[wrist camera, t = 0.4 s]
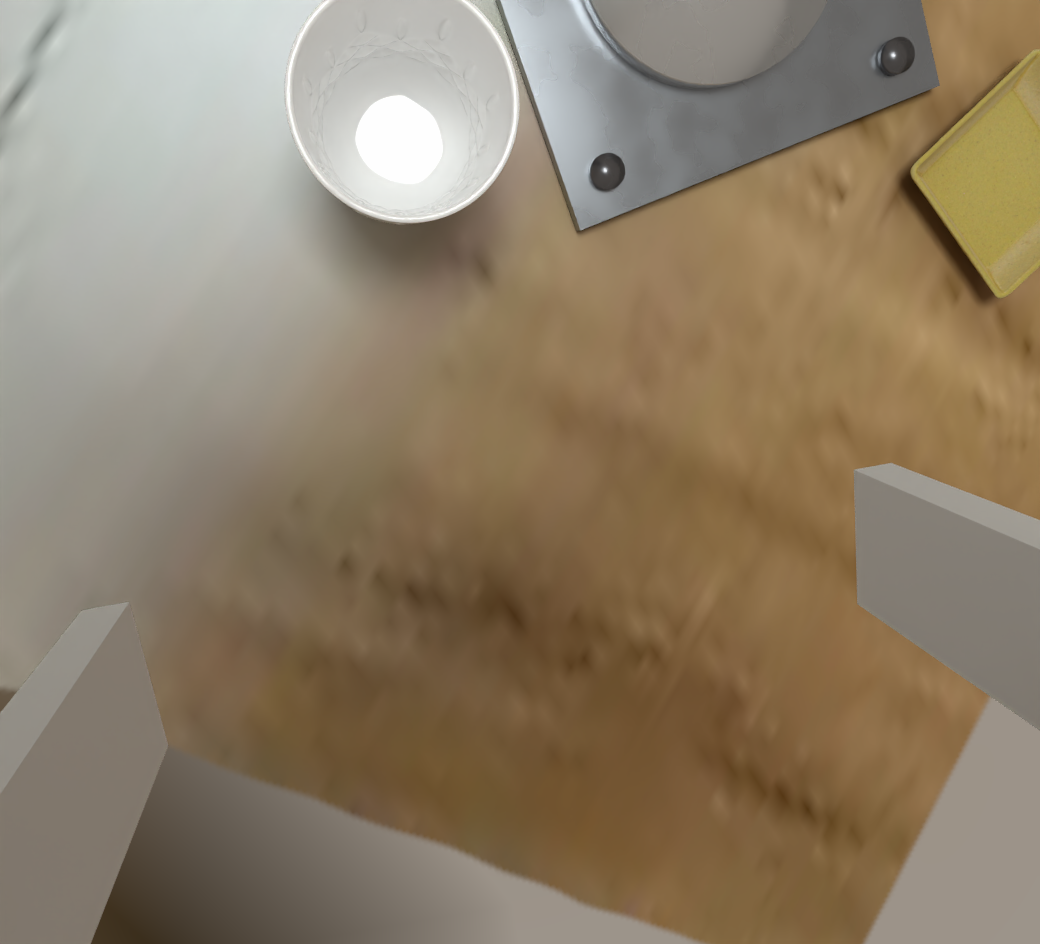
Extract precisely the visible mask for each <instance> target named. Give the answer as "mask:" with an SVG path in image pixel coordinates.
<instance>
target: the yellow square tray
mask: <svg viewBox="0 0 1040 944" xmlns="http://www.w3.org/2000/svg"><path fill="white" fill-rule="evenodd" d="M910 174H911V177H912V179H913V181H914V182H915V184H916V185H917V186H918V188H919V189H920V191H921V192H922V193H923V195H924V196H925V198H926V199H927V200H928V202H929V203H930V205H931V206H932V208H933V209H934V210H935V212H936V213H937V215H938V216H939V217H940V219H941V220H942V222H943V223H944V225H945V226H946V227H947V229H948V230H949V232H950V233H951V235H952V236H953V237H954V239H955V240H956V242H957V243H958V244H959V246H960V247H961V249H962V250H963V252H964V253H965V254H966V256H967V257H968V259H969V260H970V261H971V263H972V264H973V266H974V267H975V269H976V270H977V271H978V273H979V274H980V276H981V277H982V278H983V280H984V281H985V283H986V284H987V286H988V287H989V289H990V290H991V291H992V292H993V293H994V295H995V296H996V297H997V298H1004V297H1006V296H1008V295H1009V294H1010V293H1012V292H1013V291H1014V290H1015V289H1016V288H1017V287H1018V286H1019V285H1020V284H1021V283H1022V282H1023V281H1024V280H1026V279H1027V278H1028V277H1029V276H1030V275H1031V274H1032V273H1033V272H1034V271H1035V270H1036V269H1037V268H1038V267H1039V266H1040V50H1039V49H1035V50H1033V51H1031V52H1030V53H1029V54H1028V55H1027V56H1026V57H1025V58H1024V59H1023V60H1022V61H1021V62H1020V63H1019V64H1018V65H1017V66H1016V67H1015V68H1014V69H1013V70H1012V71H1011V72H1010V73H1009V74H1008V75H1007V76H1005V77H1004V78H1003V79H1002V80H1001V81H1000V82H999V83H998V84H997V85H996V86H995V87H994V88H993V89H992V90H991V91H990V92H989V93H988V94H987V95H986V96H985V97H984V98H983V99H982V100H980V101H979V102H978V103H977V104H976V105H975V106H974V107H973V108H972V109H971V110H970V111H969V112H968V113H967V114H966V115H965V116H964V117H963V118H962V119H961V120H960V121H958V122H957V123H956V124H955V125H954V126H953V127H952V128H951V129H950V130H949V131H948V132H947V133H946V134H945V135H944V136H943V137H942V138H941V139H940V140H939V141H937V142H936V143H935V144H934V145H933V146H932V147H931V148H930V149H929V150H928V151H927V152H926V153H925V154H924V155H923V156H922V157H921V158H920V159H919V160H918V161H917V162H916V163H915V164H914V165H913V166H912V168H911V172H910Z"/></svg>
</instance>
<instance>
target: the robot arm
mask: <svg viewBox="0 0 1040 944" xmlns="http://www.w3.org/2000/svg"><path fill="white" fill-rule="evenodd" d="M854 490H855V528H856V567H857V604H858V605H860V606H861V607H863V608H864V609H865V610H867V611H868V612H870V613H871V614H873V615H874V616H875V617H877V618H878V619H880V620H881V621H883V622H884V623H886V624H887V625H888V626H890V627H891V628H893V629H894V630H896V631H897V632H898V633H900V634H901V635H903V636H904V637H906V638H907V639H909V640H910V641H911V642H913V643H914V644H916V645H917V646H919V647H920V648H922V649H923V650H924V651H926V652H927V653H929V654H930V655H932V656H933V657H934V658H936V659H937V660H939V661H940V662H942V663H943V664H945V665H946V666H947V667H949V668H950V669H952V670H953V671H955V672H956V673H958V674H959V675H960V676H962V677H963V678H965V679H966V680H968V681H969V682H970V683H972V684H973V685H975V686H976V687H978V688H979V689H981V690H982V691H983V692H985V693H986V694H988V695H989V696H991V697H992V698H993V699H995V700H996V701H998V702H999V703H1001V704H1002V705H1004V706H1005V707H1007V708H1008V709H1009V710H1011V711H1012V712H1014V713H1015V714H1017V715H1018V716H1019V717H1021V718H1022V719H1024V720H1025V721H1027V722H1028V723H1029V724H1031V725H1032V726H1034V727H1035V728H1037V729H1038V730H1040V520H1038V519H1035V518H1032V517H1030V516H1027V515H1025V514H1022V513H1019V512H1017V511H1014V510H1012V509H1009V508H1006V507H1004V506H1001V505H999V504H996V503H993V502H991V501H988V500H986V499H983V498H980V497H978V496H975V495H973V494H970V493H967V492H965V491H962V490H960V489H957V488H954V487H952V486H949V485H947V484H944V483H942V482H939V481H936V480H934V479H931V478H929V477H926V476H923V475H921V474H918V473H916V472H913V471H910V470H908V469H905V468H903V467H900V466H897V465H895V464H892V463H889V464H883V465H878V466H872V467H867V468H861V469H856V470H854ZM167 748H168V743H167V739H166V735H165V732H164V728H163V724H162V721H161V717H160V713H159V709H158V706H157V702H156V698H155V695H154V691H153V687H152V683H151V680H150V676H149V672H148V668H147V665H146V661H145V657H144V654H143V650H142V646H141V642H140V639H139V635H138V631H137V627H136V624H135V620H134V616H133V613H132V609H131V605H130V602H125V603H119V604H114V605H108V606H103V607H97V608H92V609H86V610H81V612H80V613H79V614H78V615H77V617H76V618H75V619H74V620H73V622H72V623H71V624H70V626H69V627H68V628H67V629H66V631H65V632H64V633H63V634H62V636H61V637H60V638H59V639H58V641H57V642H56V643H55V644H54V646H53V647H52V648H51V650H50V651H49V652H48V653H47V655H46V656H45V657H44V658H43V660H42V661H41V662H40V663H39V665H38V666H37V667H36V669H35V670H34V671H33V672H32V674H31V675H30V676H29V677H28V679H27V680H26V681H25V682H24V684H23V685H22V686H21V687H20V689H19V690H18V691H17V693H16V694H15V695H14V696H13V698H12V699H11V700H10V701H9V703H8V704H7V705H6V706H5V708H4V709H3V710H2V712H1V713H0V944H91V941H92V938H93V936H94V933H95V931H96V928H97V926H98V923H99V921H100V918H101V916H102V913H103V910H104V908H105V905H106V903H107V900H108V898H109V895H110V893H111V890H112V887H113V885H114V883H115V880H116V877H117V875H118V872H119V870H120V867H121V865H122V862H123V860H124V857H125V855H126V852H127V849H128V847H129V844H130V842H131V839H132V837H133V834H134V832H135V829H136V826H137V824H138V822H139V819H140V816H141V814H142V811H143V809H144V806H145V804H146V801H147V799H148V796H149V794H150V791H151V788H152V786H153V783H154V781H155V778H156V776H157V773H158V771H159V768H160V766H161V763H162V761H163V758H164V755H165V753H166V750H167Z"/></svg>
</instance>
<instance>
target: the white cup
mask: <svg viewBox="0 0 1040 944" xmlns="http://www.w3.org/2000/svg"><path fill="white" fill-rule="evenodd" d="M285 107H286V113H287V118H288V123H289V127H290V130H291V133H292V136H293V139H294V141H295V144H296V146H297V148H298V150H299V152H300V154H301V156H302V158H303V160H304V161H305V163H306V164H307V166H308V168H309V169H310V170H311V172H312V173H313V174H314V176H315V177H316V178H317V179H318V180H319V182H320V183H321V184H322V185H323V186H324V187H325V188H326V189H327V190H328V191H329V192H331V193H332V194H333V195H334V196H335V197H337V198H338V199H339V200H340V201H341V202H343V203H344V204H345V205H347V206H348V207H350V208H351V209H353V210H354V211H356V212H357V213H360V214H362V215H364V216H366V217H368V218H371V219H374V220H377V221H381V222H385V223H391V224H401V225H403V224H416V223H422V222H428V221H433V220H437V219H441V218H444V217H447V216H449V215H452V214H454V213H456V212H458V211H460V210H462V209H463V208H465V207H467V206H468V205H470V204H471V203H473V202H474V201H475V200H476V199H478V198H479V197H480V196H481V195H482V194H483V193H484V192H485V191H486V190H487V189H488V188H489V187H490V186H491V185H492V184H493V182H494V181H495V180H496V178H497V177H498V176H499V174H500V172H501V171H502V169H503V168H504V166H505V164H506V162H507V160H508V158H509V155H510V153H511V150H512V148H513V145H514V141H515V137H516V133H517V128H518V121H519V91H518V84H517V78H516V74H515V70H514V67H513V63H512V60H511V58H510V55H509V53H508V50H507V48H506V46H505V44H504V42H503V40H502V39H501V37H500V35H499V34H498V32H497V30H496V29H495V28H494V26H493V25H492V23H491V22H490V21H489V20H488V18H487V17H486V16H485V15H484V14H483V13H482V12H481V11H480V10H479V9H478V8H477V7H476V6H475V5H474V4H473V3H472V2H471V1H469V0H323V1H322V2H321V3H320V4H319V5H318V6H317V7H316V8H315V9H314V10H313V12H312V13H311V14H310V15H309V17H308V18H307V19H306V21H305V22H304V24H303V25H302V27H301V29H300V31H299V32H298V34H297V36H296V39H295V41H294V43H293V46H292V49H291V52H290V55H289V59H288V63H287V68H286V75H285Z"/></svg>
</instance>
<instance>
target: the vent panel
mask: <svg viewBox="0 0 1040 944" xmlns="http://www.w3.org/2000/svg"><path fill="white" fill-rule="evenodd" d="M496 3H497V5H498V8H499V11H500V14H501V17H502V20H503V23H504V25H505V28H506V31H507V34H508V37H509V40H510V43H511V45H512V48H513V51H514V54H515V57H516V60H517V63H518V65H519V68H520V71H521V74H522V77H523V80H524V83H525V85H526V88H527V91H528V94H529V97H530V100H531V103H532V105H533V108H534V111H535V114H536V117H537V120H538V123H539V125H540V128H541V131H542V134H543V137H544V140H545V143H546V145H547V148H548V151H549V154H550V157H551V160H552V163H553V166H554V168H555V171H556V174H557V177H558V180H559V183H560V186H561V188H562V191H563V194H564V197H565V200H566V203H567V206H568V208H569V211H570V214H571V217H572V220H573V223H574V226H575V228H576V231H580V230H583V229H585V228H588V227H590V226H593V225H595V224H598V223H600V222H603V221H605V220H608V219H610V218H613V217H615V216H618V215H620V214H623V213H625V212H627V211H630V210H632V209H635V208H637V207H640V206H642V205H645V204H647V203H650V202H652V201H655V200H657V199H660V198H662V197H665V196H667V195H670V194H672V193H675V192H677V191H680V190H682V189H684V188H687V187H689V186H692V185H694V184H697V183H699V182H702V181H704V180H707V179H709V178H712V177H714V176H717V175H719V174H722V173H724V172H727V171H729V170H732V169H734V168H737V167H739V166H741V165H744V164H746V163H749V162H751V161H754V160H756V159H759V158H761V157H764V156H766V155H769V154H771V153H774V152H776V151H779V150H781V149H784V148H786V147H789V146H791V145H794V144H796V143H798V142H801V141H803V140H806V139H808V138H811V137H813V136H816V135H818V134H821V133H823V132H826V131H828V130H831V129H833V128H836V127H838V126H841V125H843V124H846V123H848V122H850V121H853V120H855V119H858V118H860V117H863V116H865V115H868V114H870V113H873V112H875V111H878V110H880V109H883V108H885V107H888V106H890V105H893V104H895V103H898V102H900V101H903V100H905V99H907V98H910V97H912V96H915V95H917V94H920V93H922V92H925V91H927V90H930V89H932V88H935V87H937V86H940V85H939V80H938V76H937V71H936V67H935V62H934V58H933V53H932V48H931V44H930V39H929V35H928V30H927V26H926V21H925V17H924V12H923V8H922V3H921V0H496Z"/></svg>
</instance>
